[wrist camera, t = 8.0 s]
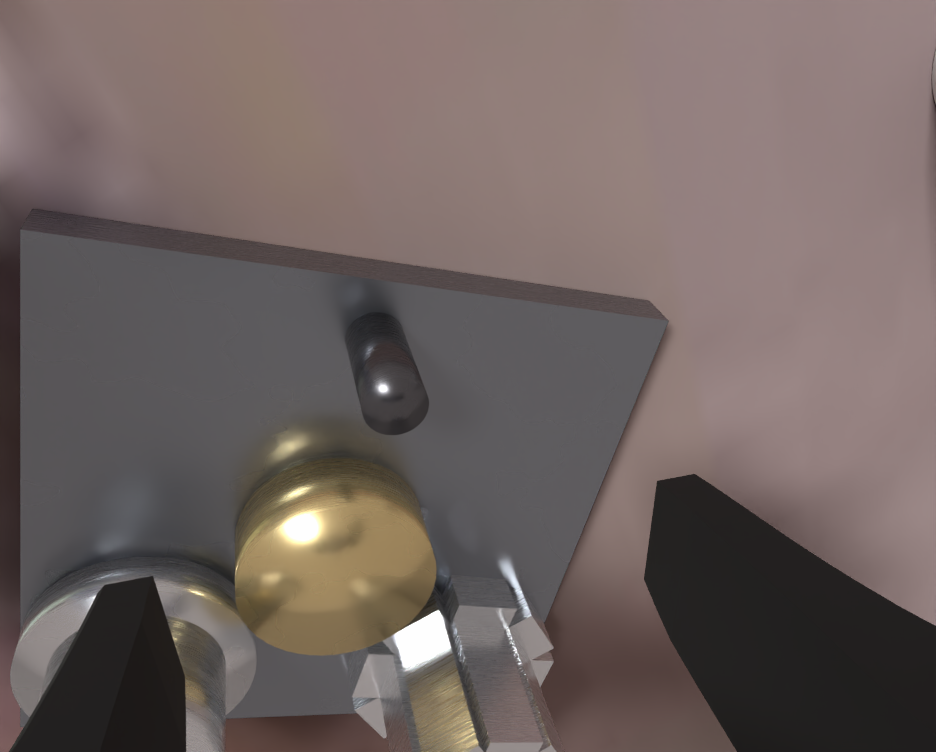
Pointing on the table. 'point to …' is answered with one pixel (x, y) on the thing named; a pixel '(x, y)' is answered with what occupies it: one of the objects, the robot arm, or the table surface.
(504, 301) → the carrier
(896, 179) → the table surface
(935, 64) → the cup
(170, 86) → the table surface
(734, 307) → the table surface
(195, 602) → the silver rounded piece
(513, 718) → the gear
